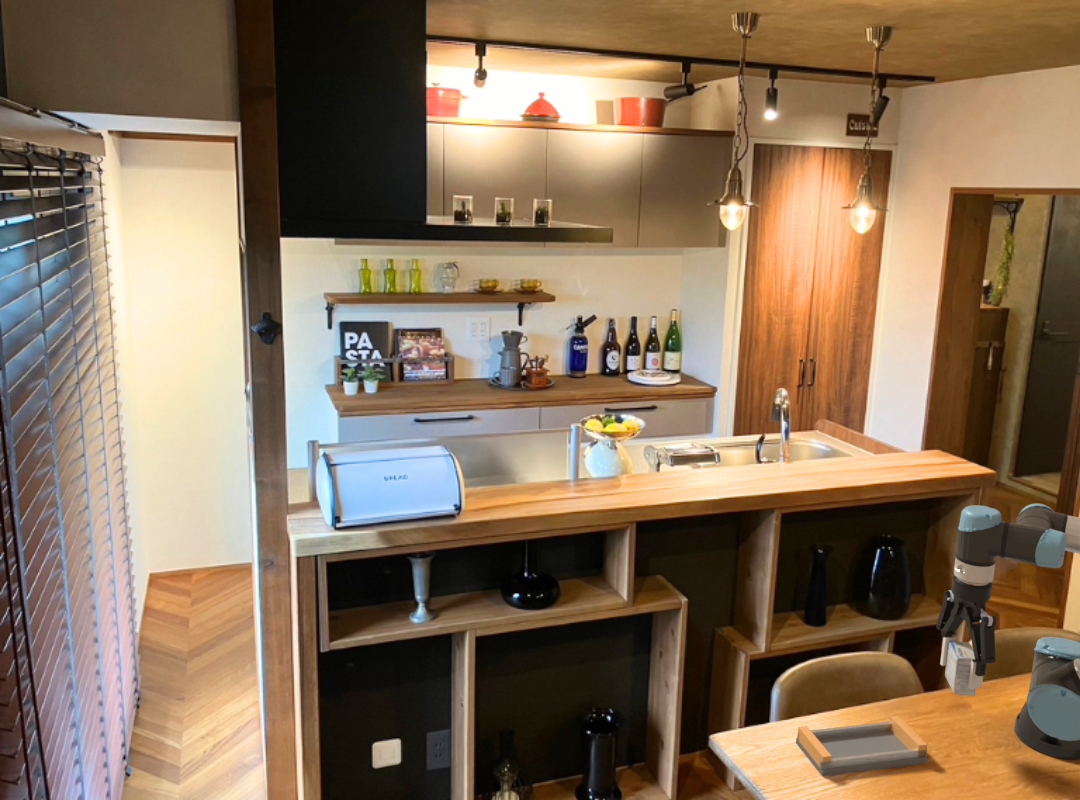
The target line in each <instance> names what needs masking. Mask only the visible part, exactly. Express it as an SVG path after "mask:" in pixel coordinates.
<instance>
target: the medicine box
mask: <svg viewBox="0 0 1080 800" xmlns="http://www.w3.org/2000/svg"><path fill="white" fill-rule="evenodd" d="M972 659H975V657H974V651H973V646H972V644H971V643H970V642H967V641H958V640H956V641H949V643H948V650H947V660H946V666H945V670H944V676H945V678H946V680H947V682H948V684H949V687H950V689H951V690H952V693H953V695H960V696H969V697H971V696H972V697H974V696H975V695H976V691H977V690H976V689H977V688H974V689H970V688H969V687H968V684H969V676H970V668H971V660H972Z"/></svg>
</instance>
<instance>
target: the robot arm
mask: <svg viewBox="0 0 1080 800" xmlns="http://www.w3.org/2000/svg"><path fill="white" fill-rule="evenodd" d="M960 512H961V513H960V519H959V524H958V530H957V539H956V548H955V549H956V550H955V561H954V568H953V576H952V582H951V590H950V589H949V590H944V591H943V602H942V605H941V608H940V611H939V615H938V619H937V621H936V625H935V626H936V629H937V630H940V634H941V636H942V638H941V645H940V647H941V655H940V663H939V665H940V666H941V667H944V666H945V667H946V660H947V650H948V643H949V641H957V637H956V635H958V634H957V633H956V632H957V631H958V629H959V627H960V626H961V624H962V622H963V621H965V622H966V628H968V629H969V635H970V639H971V643H972V644H971V646H972V649H973V651H974V657H975V659H972V660H971V668H970V676H969V684H968V687H969V688H970V689H974V688H976V689H979V688H980V689H982V688H983V682H984V681H983V680H984V677H985V675H986V669H987V664H994V663H996V639H995V638H996V635H995V632H996V631H995V628H996V627H995V626H996V623H997V617H996V616H995V615H990V614H989V613H988V612H987V609H986V607H987V606H986V604H987V602H989V600H991V596H992V590H993V589H992V588H993V583H992V582H993V581H994V578H995V577H994V574H995V567H996V558H1000V559H1006V560H1011V561H1015V562H1020V563H1024V564H1029V565H1030V564H1031V565H1035V566H1038V567H1041V568H1043V567H1044V568H1045V567H1046V568H1053V569H1060V568H1061V567H1062V566H1063V564H1064V558H1065V552H1069V553H1074V554H1075V553H1076V554H1079V555H1080V517H1078V516H1074V515H1073V516H1072V515H1069V514H1065V513H1062V512H1057V511H1056V512H1055V511H1054V510H1053V509H1052V508H1051V507H1050V506H1048V505H1046V504H1044V503H1038V502H1037V503H1031V504H1028V505H1026V506H1024V507H1023V508H1022V509H1021V510H1020V512H1019V514H1018V516H1017V517H1016V519H1015V523H1012V522H1009V521H1005V520H1002V514H1001V511H1000V510H998V509H996V508H994V507H993V508H992V507H990V506H986V505H979V504H977V505H976V504H974V505H969V506H965V507H964V508H963V509H962V510H961V511H960ZM1033 650H1034V653H1033V654H1034V656H1033V663H1032V669H1031V676H1030V681H1029V688H1028V693H1027V696H1026V701H1025V702H1024V704H1023V706H1022V707H1021V709H1020V712H1019V713H1018V714H1017V715H1016V717H1015V721H1014V727H1013V729H1014V730H1013V731H1014V732H1015V735H1016V736H1017V738H1018V739H1019V740H1020V741H1021V742H1023V743H1024V744H1025V745H1026V746H1028V747H1030V748H1031V749H1033V750H1036V751H1037V752H1039V753H1042V754H1043V755H1047V756H1051V757H1054V758H1059V759H1067V760H1080V642H1079V641H1077V640H1076V641H1075V640H1074V639H1073V640H1072V639H1070V638H1064V637H1056V636H1043V637H1040V638H1039V639H1038V640H1037V641H1036V644H1035V648H1033Z"/></svg>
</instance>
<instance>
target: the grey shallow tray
mask: <svg viewBox="0 0 1080 800" xmlns="http://www.w3.org/2000/svg"><path fill="white" fill-rule="evenodd" d="M795 739H796V740H795V744H796V745H797V746H798V748H799V749H800V750H801V751H802V752H803V754H804V755H805V756H806V758H807V759H808V760H809V761H810V763H811V764H812V766H814V768H815V769H816V770H817V772H818V773H819V774H820V775H821V777H827V776H834V775H842V774H844V775H845V774H850V773H858V772H859V773H860V772H865V771H866V772H868V771H874V770H883V769H890V768H891V769H892V768H899V767H907V766H915V765H922V764H923V765H925V764H927V763H928V762H927V761H928V757H927V752H928V744H927V743H926V742H925V741H924V740H923V738H922V737H921V736H920V735H918V734H917V733H916V731H914V730H913V729H912V728H911V727H910V725H908V724H907V723H906V722H905V721H904V720H903V719H902V718H901V717H900V716H899V715H892V716H889V721H882V722H881V721H880V722H874V723H873V722H872V723H863V724H857V725H856V724H855V725H847V726H839V727H829V728H819V729H812V730H811V729H810V728H809V727H808V726H807V725H804V726H798V727H797V736H796V737H795Z"/></svg>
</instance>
